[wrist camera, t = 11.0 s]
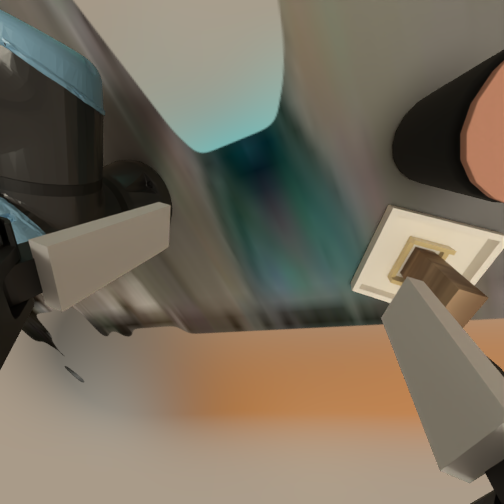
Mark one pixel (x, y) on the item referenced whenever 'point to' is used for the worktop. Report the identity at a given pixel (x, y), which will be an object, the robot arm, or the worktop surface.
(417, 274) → the wooden wedge
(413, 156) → the coffee jar
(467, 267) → the candle dish
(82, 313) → the worktop surface
